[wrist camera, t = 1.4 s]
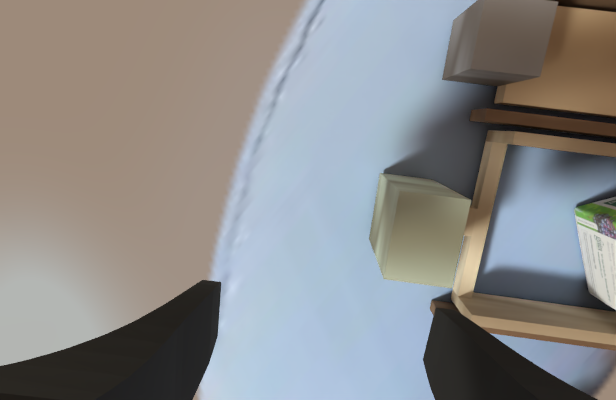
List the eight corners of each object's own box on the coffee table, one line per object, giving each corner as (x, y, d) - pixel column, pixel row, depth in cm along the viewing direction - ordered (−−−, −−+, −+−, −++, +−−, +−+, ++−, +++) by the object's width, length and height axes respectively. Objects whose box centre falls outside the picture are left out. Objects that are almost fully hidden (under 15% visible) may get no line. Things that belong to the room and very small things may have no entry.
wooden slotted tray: (683, 330, 22) (808, 402, 16) (361, 286, 22) (372, 341, 17) (746, 162, 20) (916, 177, 14) (388, 118, 20) (412, 115, 15)
